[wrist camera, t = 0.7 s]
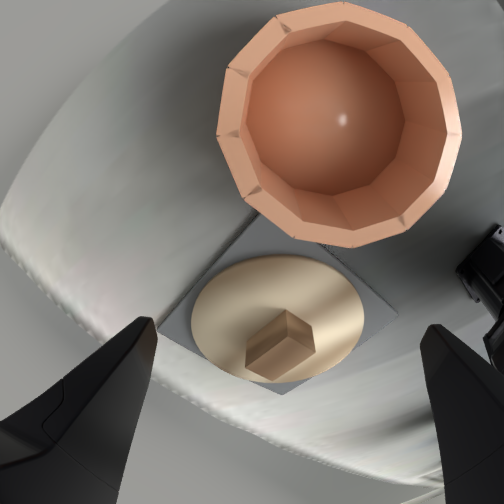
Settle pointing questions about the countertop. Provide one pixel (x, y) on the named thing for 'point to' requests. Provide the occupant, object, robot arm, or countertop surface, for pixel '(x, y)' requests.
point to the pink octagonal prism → (339, 124)
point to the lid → (277, 318)
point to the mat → (266, 243)
